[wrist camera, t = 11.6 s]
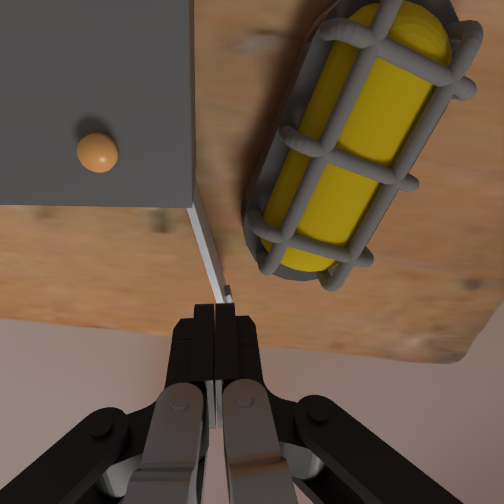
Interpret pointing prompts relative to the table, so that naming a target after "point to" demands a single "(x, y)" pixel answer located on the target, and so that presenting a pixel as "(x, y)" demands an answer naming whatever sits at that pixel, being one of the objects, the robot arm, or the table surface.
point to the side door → (208, 249)
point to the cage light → (352, 131)
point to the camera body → (97, 103)
